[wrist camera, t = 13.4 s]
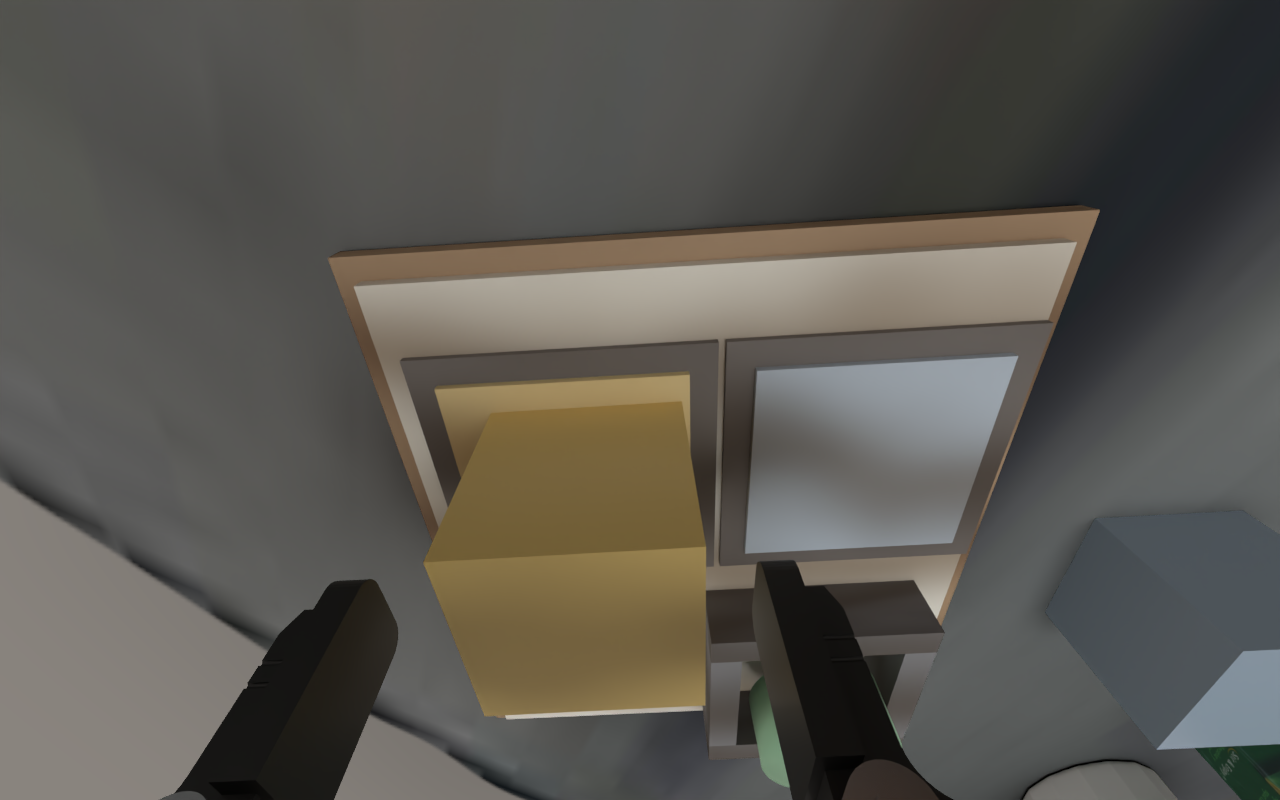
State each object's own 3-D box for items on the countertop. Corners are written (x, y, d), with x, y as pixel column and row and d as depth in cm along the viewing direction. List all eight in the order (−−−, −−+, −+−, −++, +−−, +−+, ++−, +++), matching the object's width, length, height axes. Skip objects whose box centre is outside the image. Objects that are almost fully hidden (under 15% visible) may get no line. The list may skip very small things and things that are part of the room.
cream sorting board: (339, 251, 12) (263, 291, 10) (1080, 205, 12) (1200, 233, 10) (500, 703, 23) (483, 781, 20) (906, 684, 22) (942, 761, 20)
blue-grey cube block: (1092, 516, 18) (1243, 651, 13) (1240, 508, 17) (1439, 641, 13) (1043, 610, 20) (1156, 749, 16) (1171, 604, 20) (1320, 742, 16)
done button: (752, 659, 17) (766, 723, 15) (886, 653, 17) (915, 717, 15) (745, 730, 19) (757, 793, 17) (864, 725, 19) (887, 787, 17)
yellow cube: (490, 412, 13) (422, 562, 9) (681, 401, 13) (706, 546, 9) (524, 548, 16) (484, 716, 12) (685, 540, 16) (705, 705, 11)
